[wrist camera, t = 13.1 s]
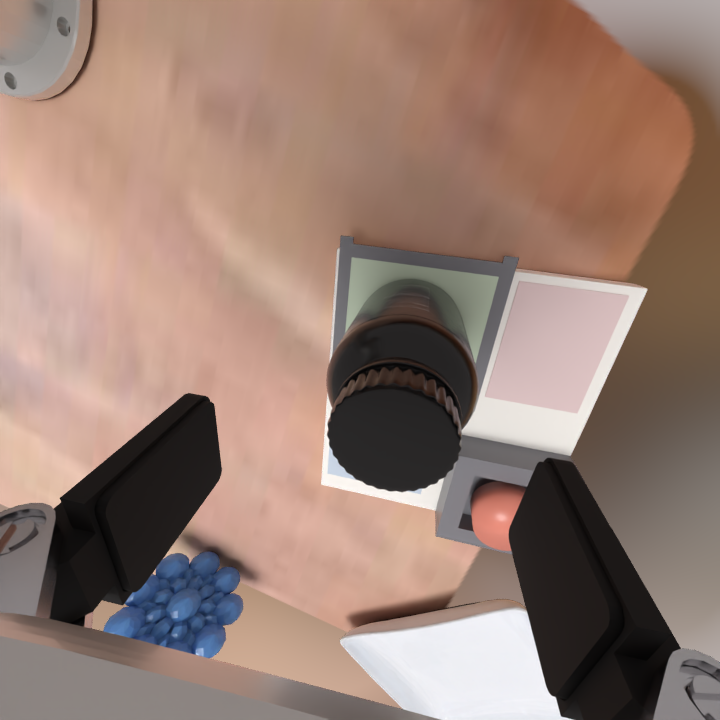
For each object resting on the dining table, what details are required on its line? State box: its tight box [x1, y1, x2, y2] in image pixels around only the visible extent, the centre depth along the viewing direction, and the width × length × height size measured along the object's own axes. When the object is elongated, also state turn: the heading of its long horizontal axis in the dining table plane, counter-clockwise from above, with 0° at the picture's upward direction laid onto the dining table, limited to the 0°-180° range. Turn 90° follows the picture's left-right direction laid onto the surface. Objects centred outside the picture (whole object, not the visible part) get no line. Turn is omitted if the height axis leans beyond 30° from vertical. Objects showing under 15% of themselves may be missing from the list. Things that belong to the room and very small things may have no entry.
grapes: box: [103, 551, 243, 658], centre depth 35 cm, size 12×7×12 cm, turn 58°
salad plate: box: [340, 599, 573, 720], centre depth 37 cm, size 21×21×3 cm
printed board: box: [321, 235, 647, 510], centre depth 25 cm, size 21×18×2 cm
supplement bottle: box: [327, 279, 479, 492], centre depth 17 cm, size 7×7×12 cm
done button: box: [470, 481, 526, 551], centre depth 24 cm, size 4×4×2 cm
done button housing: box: [435, 435, 582, 554], centre depth 25 cm, size 8×8×2 cm
